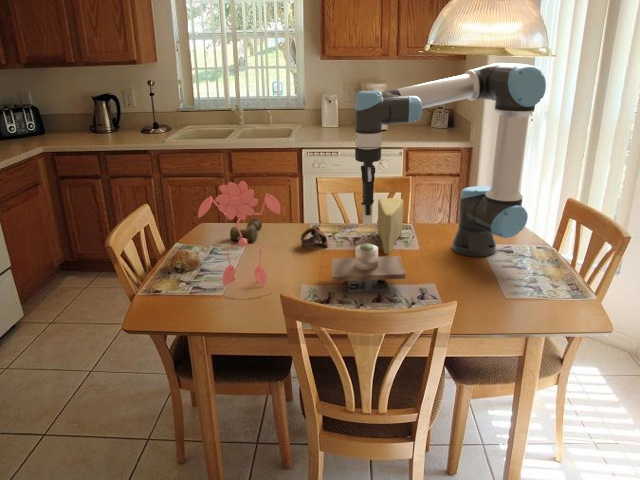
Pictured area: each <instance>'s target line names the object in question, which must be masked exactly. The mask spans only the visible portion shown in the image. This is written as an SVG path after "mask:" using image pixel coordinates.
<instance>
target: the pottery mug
mask: <svg viewBox="0 0 640 480" xmlns="http://www.w3.org/2000/svg"><path fill="white" fill-rule="evenodd" d="M309 234H311V237H308V238H306V236H307V235H309ZM300 236H301V237H300V241H301V246H302V247H309V246H311V245H313V246H315V245H316V244H315V243H316V242H317V241H321V243H322V244H324V245H325V247H326V249H327V248H329V243H328V239H327V236H326V235H325V233H324V232H323V231H321V229H320V227H318V226H314V227H310V228H308V229H306V230H305V231H303V233H302V234H301V235H300ZM305 238H306V239H305Z"/></svg>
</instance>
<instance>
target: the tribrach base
mask: <svg viewBox="0 0 640 480" xmlns="http://www.w3.org/2000/svg"><path fill="white" fill-rule="evenodd" d="M347 289H348V290H349V291H348V294H349V293H366V294H389V287H388V282H387V279H383V280H357V281H347Z"/></svg>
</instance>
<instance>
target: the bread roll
mask: <svg viewBox="0 0 640 480" xmlns="http://www.w3.org/2000/svg"><path fill="white" fill-rule="evenodd" d="M201 263H202V262H201V259H200V256H199V255H198V254H197V253H196V252H195V251H193V250H191V249H181V250H179V251H178V252H176V253H174V255H173V256H172V258H171V260H170V268H171V270H173V271H175V272H178V273H186V272H192V271H195V270H196V269H198V268H200V266H201Z"/></svg>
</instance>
